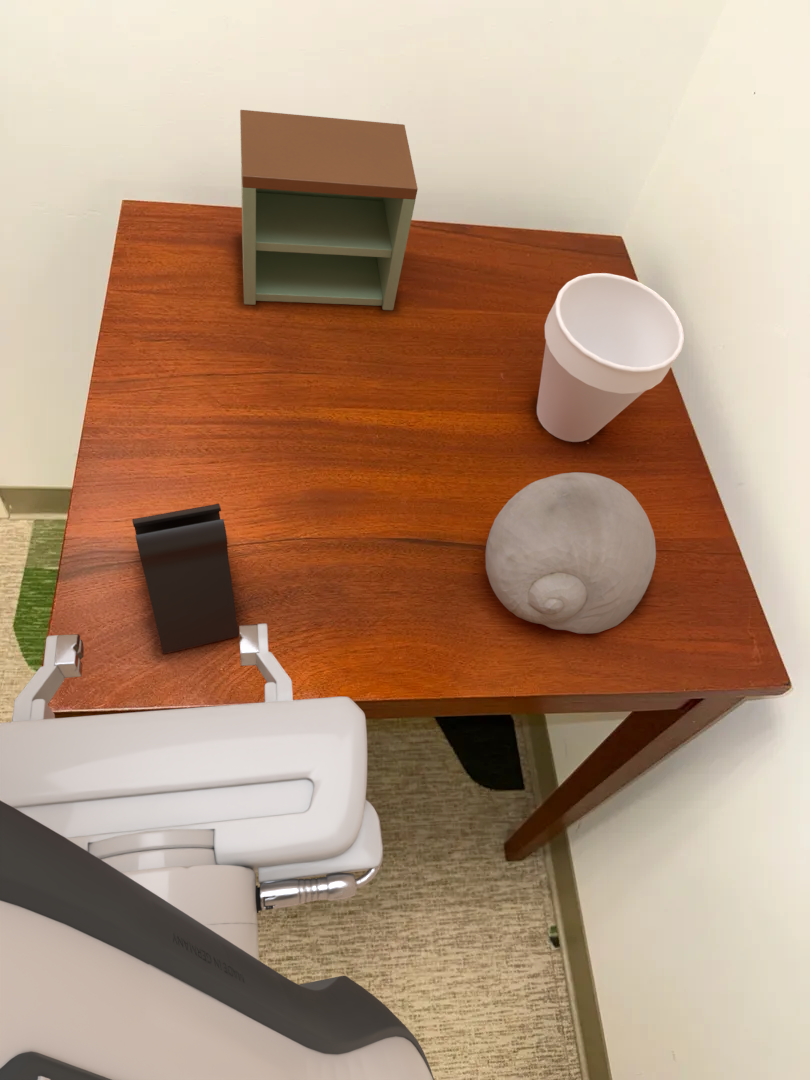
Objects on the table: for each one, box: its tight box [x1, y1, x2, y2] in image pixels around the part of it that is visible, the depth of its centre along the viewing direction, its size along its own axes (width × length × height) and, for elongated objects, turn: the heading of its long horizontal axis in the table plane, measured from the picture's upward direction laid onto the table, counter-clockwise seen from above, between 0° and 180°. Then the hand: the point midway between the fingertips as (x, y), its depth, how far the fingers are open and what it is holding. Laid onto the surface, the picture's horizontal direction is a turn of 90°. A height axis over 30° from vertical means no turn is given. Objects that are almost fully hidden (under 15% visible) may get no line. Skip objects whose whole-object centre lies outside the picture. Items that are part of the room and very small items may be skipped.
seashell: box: [485, 471, 657, 634], centre depth 68 cm, size 15×14×15 cm
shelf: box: [239, 109, 419, 311], centre depth 78 cm, size 16×10×15 cm, turn 97°
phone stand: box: [131, 503, 240, 654], centre depth 58 cm, size 9×6×12 cm, turn 18°
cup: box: [536, 272, 685, 443], centre depth 75 cm, size 12×12×14 cm
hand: (161, 633), depth 40 cm, fingers open, 8 cm apart
